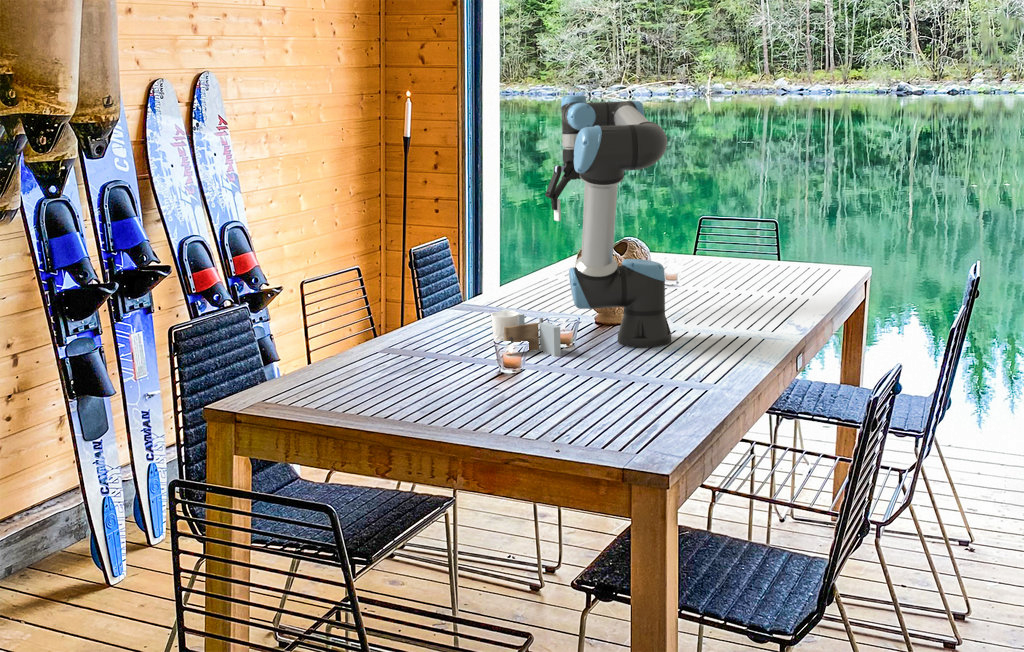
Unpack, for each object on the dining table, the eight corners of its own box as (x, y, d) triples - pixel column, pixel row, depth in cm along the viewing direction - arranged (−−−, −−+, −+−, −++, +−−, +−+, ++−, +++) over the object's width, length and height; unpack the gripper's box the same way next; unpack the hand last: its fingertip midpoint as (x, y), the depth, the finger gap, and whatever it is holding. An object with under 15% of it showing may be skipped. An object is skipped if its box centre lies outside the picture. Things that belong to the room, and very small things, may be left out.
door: (537, 348, 310) (536, 322, 308) (541, 350, 308) (540, 324, 306) (505, 353, 306) (504, 327, 304) (508, 355, 304) (507, 328, 302)
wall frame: (560, 355, 303) (559, 323, 301) (554, 356, 302) (553, 324, 300) (508, 335, 329) (507, 305, 327) (502, 336, 328) (501, 306, 326)
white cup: (526, 347, 313) (524, 312, 311) (509, 353, 307) (507, 318, 305) (504, 343, 318) (502, 309, 316) (486, 349, 312) (485, 315, 310)
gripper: (603, 144, 342) (604, 213, 346) (532, 150, 330) (535, 221, 335) (616, 145, 335) (617, 215, 340) (545, 151, 324) (547, 223, 328)
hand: (576, 218), depth 337 cm, fingers open, 13 cm apart
